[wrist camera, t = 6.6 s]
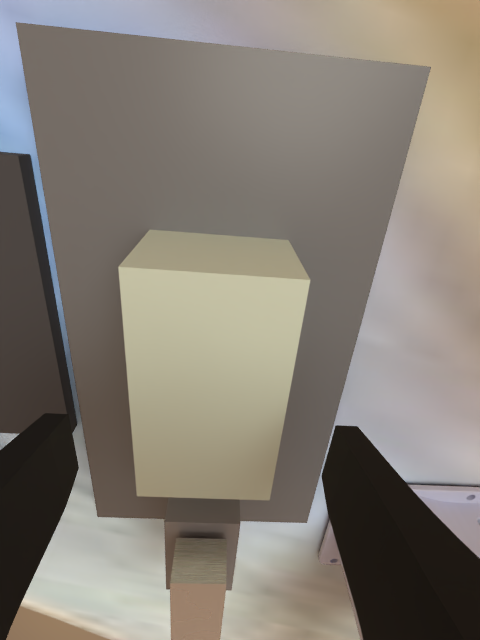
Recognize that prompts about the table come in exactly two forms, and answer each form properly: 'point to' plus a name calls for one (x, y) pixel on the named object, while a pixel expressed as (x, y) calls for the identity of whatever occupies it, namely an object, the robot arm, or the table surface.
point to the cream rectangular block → (209, 360)
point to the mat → (27, 308)
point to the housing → (213, 219)
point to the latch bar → (198, 588)
